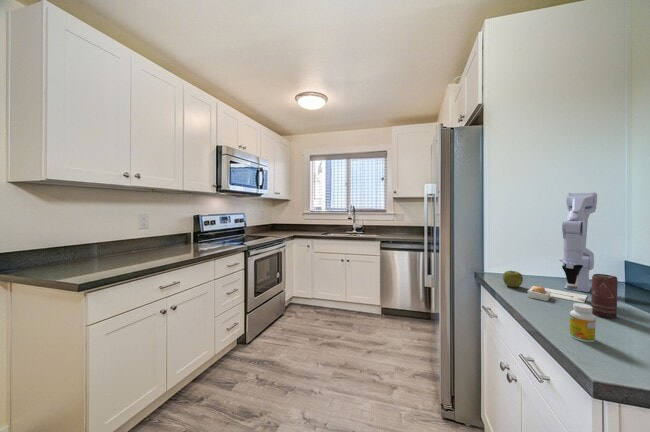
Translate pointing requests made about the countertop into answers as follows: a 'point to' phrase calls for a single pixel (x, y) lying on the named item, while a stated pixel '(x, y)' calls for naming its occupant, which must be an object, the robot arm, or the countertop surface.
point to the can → (604, 296)
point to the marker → (573, 286)
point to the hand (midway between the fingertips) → (572, 282)
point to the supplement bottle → (582, 323)
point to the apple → (512, 278)
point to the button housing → (539, 295)
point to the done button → (539, 289)
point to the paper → (566, 295)
